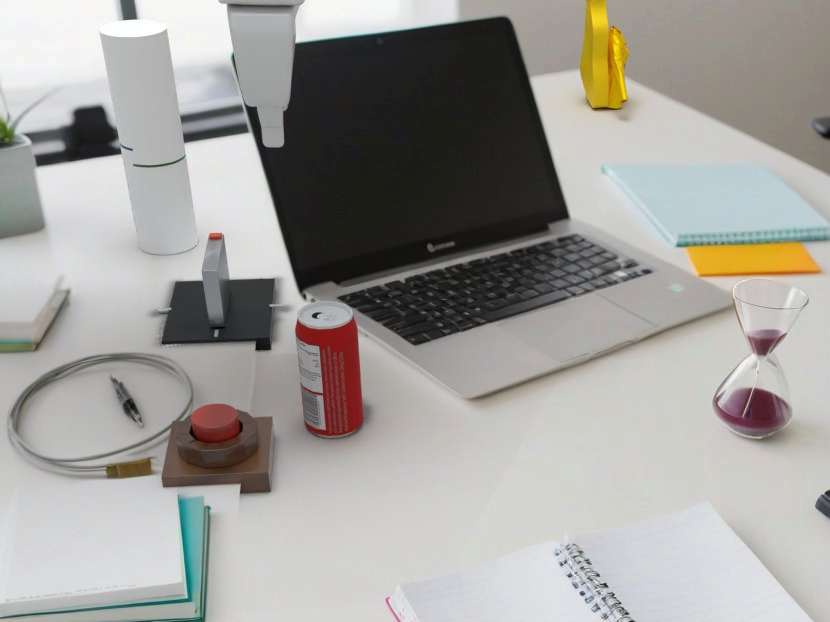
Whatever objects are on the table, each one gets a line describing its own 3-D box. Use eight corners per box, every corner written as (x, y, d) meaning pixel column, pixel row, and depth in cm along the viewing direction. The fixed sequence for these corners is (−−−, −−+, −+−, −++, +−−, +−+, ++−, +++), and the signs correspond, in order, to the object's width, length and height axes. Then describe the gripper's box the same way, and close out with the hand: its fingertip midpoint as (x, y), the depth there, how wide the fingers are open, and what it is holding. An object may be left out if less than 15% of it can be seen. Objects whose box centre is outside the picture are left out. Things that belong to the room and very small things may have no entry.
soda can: (372, 415, 111) (365, 302, 104) (349, 445, 107) (340, 329, 100) (319, 404, 112) (309, 292, 105) (294, 434, 108) (282, 319, 101)
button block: (165, 498, 100) (157, 459, 97) (176, 440, 107) (169, 403, 104) (270, 492, 101) (266, 454, 98) (274, 436, 108) (270, 399, 105)
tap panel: (281, 349, 121) (280, 335, 120) (152, 354, 119) (149, 340, 118) (285, 289, 132) (284, 276, 131) (167, 293, 130) (165, 280, 129)
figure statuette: (636, 121, 182) (650, -30, 168) (587, 122, 181) (597, -30, 167) (613, 86, 196) (624, -56, 182) (568, 87, 195) (576, -56, 181)
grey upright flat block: (225, 327, 121) (216, 267, 117) (209, 327, 121) (200, 268, 117) (231, 289, 128) (223, 231, 124) (216, 289, 128) (208, 232, 124)
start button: (191, 445, 100) (188, 428, 99) (195, 421, 103) (193, 404, 102) (238, 443, 100) (236, 426, 99) (241, 419, 103) (239, 402, 102)
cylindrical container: (171, 225, 145) (137, 16, 130) (210, 240, 142) (180, 27, 127) (126, 244, 141) (85, 29, 126) (165, 260, 137) (128, 40, 122)
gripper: (233, -70, 102) (247, 89, 110) (213, -15, 86) (232, 167, 94) (305, -68, 103) (314, 89, 111) (299, -13, 87) (310, 167, 95)
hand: (276, 126), depth 103 cm, fingers open, 8 cm apart
